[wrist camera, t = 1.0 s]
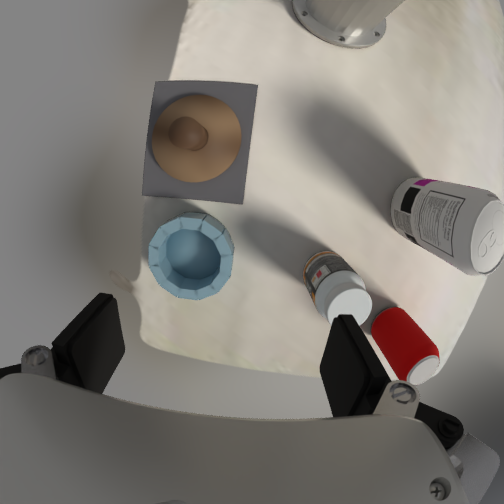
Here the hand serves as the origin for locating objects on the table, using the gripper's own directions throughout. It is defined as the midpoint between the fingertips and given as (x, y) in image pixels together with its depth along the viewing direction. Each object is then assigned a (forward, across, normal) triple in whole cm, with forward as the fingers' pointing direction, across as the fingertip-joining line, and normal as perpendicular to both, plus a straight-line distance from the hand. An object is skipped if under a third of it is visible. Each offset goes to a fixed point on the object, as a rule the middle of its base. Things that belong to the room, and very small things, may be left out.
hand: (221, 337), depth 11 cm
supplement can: (+22, -22, -4) cm, 32 cm away
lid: (+21, +6, -10) cm, 24 cm away
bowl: (+22, +5, +4) cm, 22 cm away
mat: (+22, +6, -10) cm, 24 cm away
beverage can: (+22, -23, +12) cm, 34 cm away
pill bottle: (+22, -11, +5) cm, 25 cm away
